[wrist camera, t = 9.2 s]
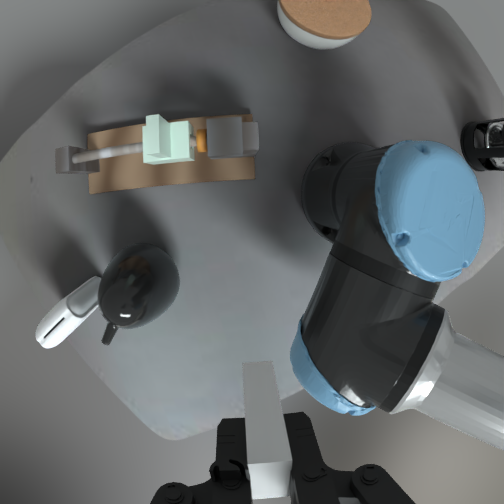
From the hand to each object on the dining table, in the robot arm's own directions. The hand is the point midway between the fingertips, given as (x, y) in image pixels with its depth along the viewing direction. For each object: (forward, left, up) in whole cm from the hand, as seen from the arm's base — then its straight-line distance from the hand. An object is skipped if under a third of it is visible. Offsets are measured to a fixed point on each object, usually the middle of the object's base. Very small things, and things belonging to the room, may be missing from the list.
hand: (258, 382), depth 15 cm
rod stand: (+10, -15, -29) cm, 34 cm away
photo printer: (+26, +6, -30) cm, 40 cm away
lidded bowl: (-12, -35, -30) cm, 47 cm away
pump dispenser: (+14, +2, -30) cm, 33 cm away
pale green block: (+8, -15, -22) cm, 28 cm away
